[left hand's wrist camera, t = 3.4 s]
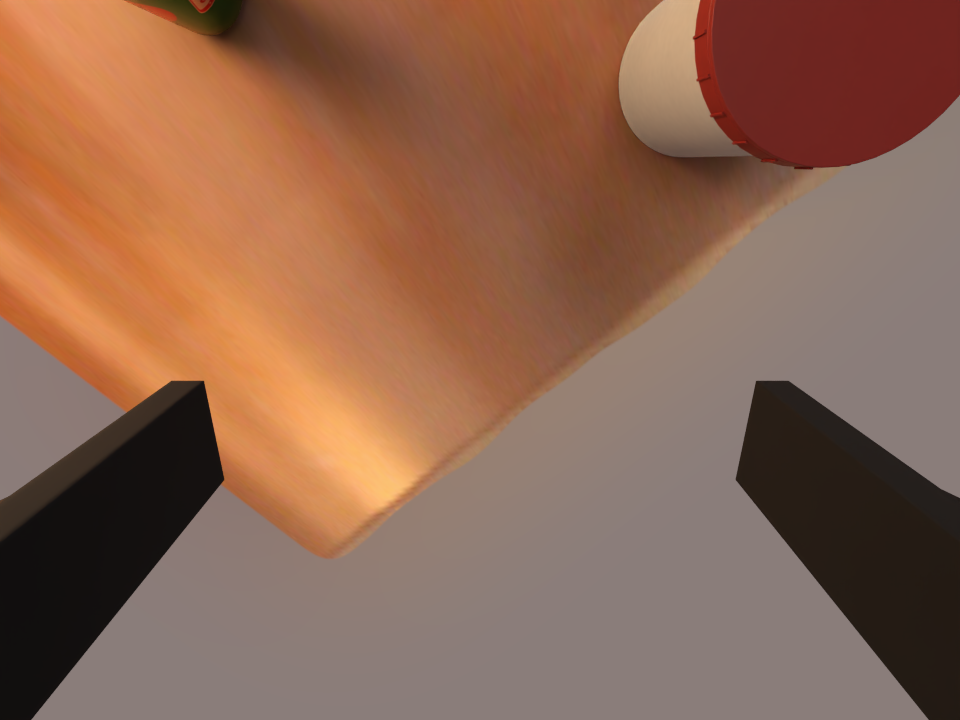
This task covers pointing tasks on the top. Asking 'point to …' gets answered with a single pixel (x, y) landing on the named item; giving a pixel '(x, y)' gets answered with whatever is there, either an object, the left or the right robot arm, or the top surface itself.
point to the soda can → (195, 13)
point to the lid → (826, 74)
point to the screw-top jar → (669, 86)
